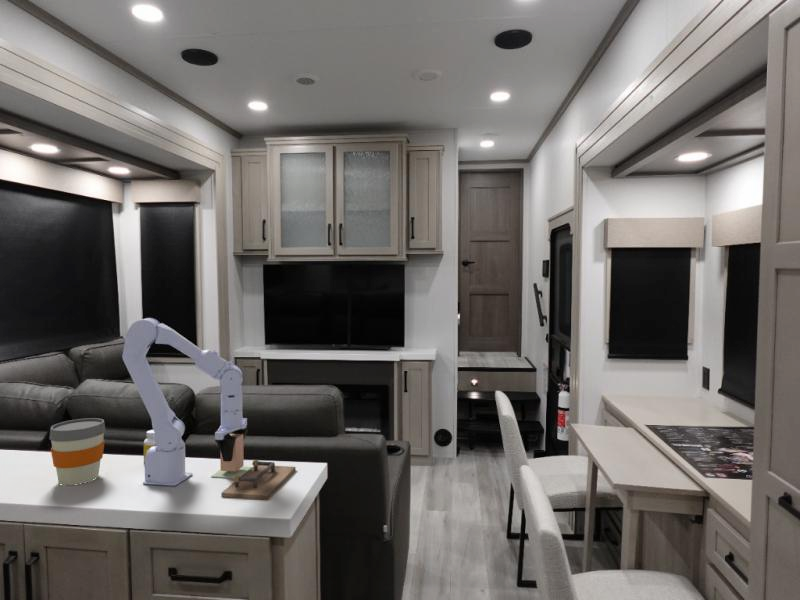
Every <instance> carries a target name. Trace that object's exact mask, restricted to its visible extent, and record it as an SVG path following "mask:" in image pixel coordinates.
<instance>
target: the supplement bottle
mask: <svg viewBox="0 0 800 600" xmlns="http://www.w3.org/2000/svg"><path fill="white" fill-rule="evenodd" d="M153 446H156V444H155V432H154V430H153V429H150V430H147V431H146V438H145V439H144V441H143V467H145V456H146V453H147V451H148V450H149V449H150V448H151V447H153Z"/></svg>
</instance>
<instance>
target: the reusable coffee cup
mask: <svg viewBox="0 0 800 600" xmlns="http://www.w3.org/2000/svg"><path fill="white" fill-rule="evenodd" d="M105 433H106V424H105V420H104V419H102V418H98V417H97V418H96V417H93V418H91V417H90V418H89V417H88V418H86V417H85V418H78V419H72V420H66V421H61V422H59V423H56V424H53V425H51V427H50V430H49V437H48V438H49V441H51V448H50V453H51V458H52V463H53V467H55V469H56V475H57V482H58V484H59V485H60V484H62V485H74V486H76V485H75V484H80V483H84V484H86V483H85V482H88V481H90V482H92V481H91V480H93V479H95V478H96V479H97V478H98V477H99V474H100V468H101V460H102V459H103V455H104V449H105V442H106V441H105V439H104V435H105ZM96 479H95V480H96ZM93 481H94V480H93ZM88 483H89V482H88ZM62 485H61V486H62ZM80 485H81V484H80Z"/></svg>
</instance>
